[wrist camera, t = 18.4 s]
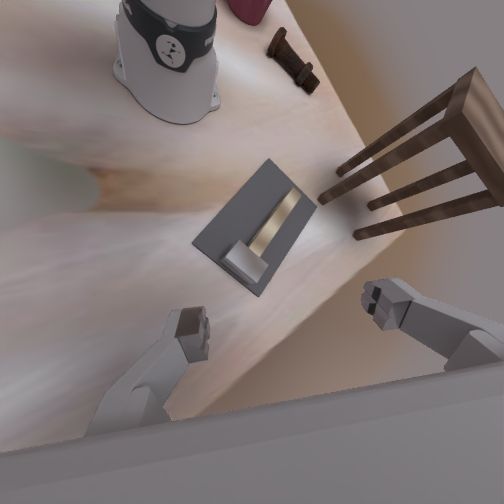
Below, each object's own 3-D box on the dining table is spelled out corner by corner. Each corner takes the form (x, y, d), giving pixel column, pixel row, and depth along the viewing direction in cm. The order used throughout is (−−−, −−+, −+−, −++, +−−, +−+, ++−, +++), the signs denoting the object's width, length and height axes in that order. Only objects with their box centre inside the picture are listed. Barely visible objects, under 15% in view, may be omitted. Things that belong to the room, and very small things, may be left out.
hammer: (308, 202, 42) (298, 209, 45) (286, 179, 41) (277, 188, 44) (257, 282, 33) (248, 284, 36) (225, 256, 31) (219, 260, 34)
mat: (258, 296, 37) (259, 297, 36) (191, 243, 34) (192, 242, 33) (315, 207, 46) (317, 206, 46) (267, 159, 43) (269, 158, 43)
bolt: (305, 101, 54) (265, 57, 51) (317, 85, 54) (278, 40, 50) (314, 90, 49) (270, 40, 45) (327, 72, 48) (284, 20, 44)
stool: (357, 241, 50) (523, 201, 26) (316, 199, 47) (462, 111, 23) (374, 206, 55) (525, 146, 32) (338, 166, 52) (475, 66, 28)
